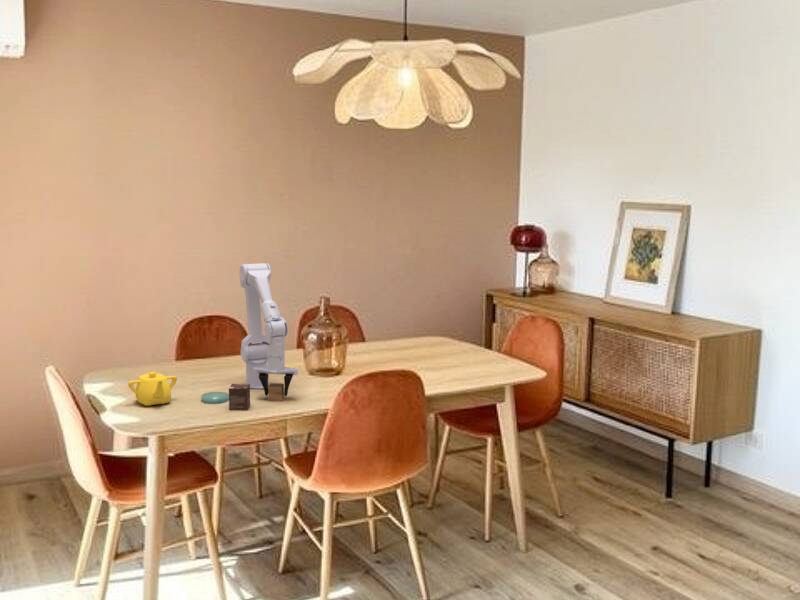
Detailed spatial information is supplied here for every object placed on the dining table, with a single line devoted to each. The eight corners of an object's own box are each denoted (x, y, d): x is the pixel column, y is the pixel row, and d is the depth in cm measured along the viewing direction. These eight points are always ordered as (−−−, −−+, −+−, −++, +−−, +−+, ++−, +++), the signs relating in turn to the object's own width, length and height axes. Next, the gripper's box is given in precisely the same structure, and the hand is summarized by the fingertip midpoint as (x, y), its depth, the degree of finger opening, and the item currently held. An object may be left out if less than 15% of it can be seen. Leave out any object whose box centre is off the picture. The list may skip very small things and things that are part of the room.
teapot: (183, 399, 274) (182, 369, 273) (162, 410, 262) (161, 378, 260) (147, 396, 278) (146, 366, 276) (125, 406, 266) (123, 375, 264)
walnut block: (270, 397, 279) (270, 383, 278) (284, 397, 279) (284, 383, 278) (268, 401, 274) (268, 386, 274) (281, 401, 274) (281, 387, 273)
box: (250, 405, 269) (250, 383, 268) (247, 410, 263) (247, 388, 262) (231, 405, 269) (231, 383, 268) (228, 410, 263) (228, 388, 262)
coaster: (205, 397, 279) (205, 391, 278) (231, 397, 278) (231, 392, 278) (198, 404, 270) (198, 398, 269) (225, 405, 270) (225, 399, 269)
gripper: (252, 357, 270) (252, 397, 272) (295, 359, 270) (295, 398, 272) (256, 353, 277) (256, 392, 279) (298, 354, 277) (299, 393, 279)
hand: (276, 395), depth 276 cm, fingers open, 6 cm apart
